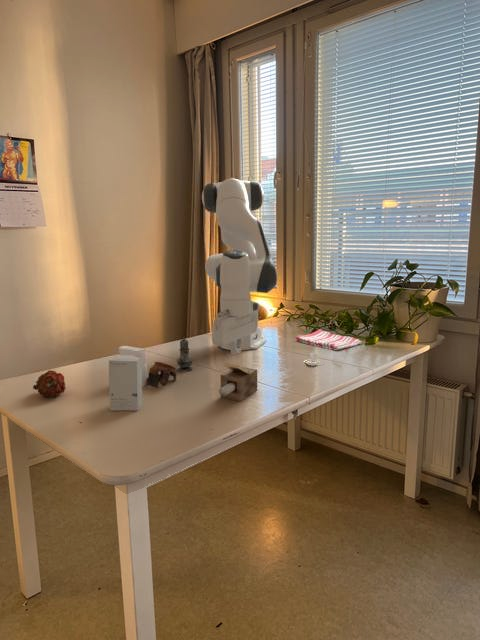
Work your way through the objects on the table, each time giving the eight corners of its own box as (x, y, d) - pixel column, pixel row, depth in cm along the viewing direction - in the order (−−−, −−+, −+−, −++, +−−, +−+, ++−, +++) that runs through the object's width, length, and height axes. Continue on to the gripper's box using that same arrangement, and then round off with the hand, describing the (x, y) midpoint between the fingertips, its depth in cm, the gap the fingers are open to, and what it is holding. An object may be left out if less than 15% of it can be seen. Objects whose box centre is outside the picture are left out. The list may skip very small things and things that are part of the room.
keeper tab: (233, 371, 144) (233, 368, 145) (248, 374, 142) (249, 371, 142) (222, 365, 139) (223, 362, 139) (238, 368, 136) (239, 365, 136)
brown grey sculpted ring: (140, 383, 156) (148, 360, 158) (166, 392, 160) (173, 368, 162) (152, 385, 145) (160, 360, 147) (179, 394, 149) (187, 369, 151)
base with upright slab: (153, 381, 156) (151, 346, 154) (134, 390, 149) (132, 353, 146) (132, 377, 161) (130, 343, 158) (113, 385, 153) (111, 349, 151)
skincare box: (109, 411, 132) (106, 360, 129) (115, 403, 138) (112, 354, 135) (139, 411, 132) (136, 360, 129) (143, 403, 138) (141, 354, 135)
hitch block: (238, 387, 151) (237, 366, 149) (257, 391, 147) (257, 369, 146) (220, 397, 142) (220, 375, 141) (240, 401, 139) (240, 378, 137)
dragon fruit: (56, 407, 139) (45, 401, 149) (77, 385, 143) (64, 381, 153) (35, 388, 136) (25, 383, 145) (57, 366, 139) (46, 363, 149)
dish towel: (319, 335, 218) (319, 328, 218) (362, 345, 201) (362, 337, 201) (294, 342, 207) (294, 334, 207) (338, 352, 190) (338, 344, 190)
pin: (245, 381, 150) (245, 369, 149) (256, 383, 148) (256, 371, 147) (217, 397, 137) (216, 384, 136) (228, 399, 135) (228, 386, 134)
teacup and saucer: (313, 368, 170) (313, 358, 169) (297, 363, 176) (297, 353, 175) (329, 364, 175) (329, 353, 174) (313, 359, 181) (313, 349, 180)
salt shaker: (190, 372, 165) (189, 339, 163) (174, 371, 167) (173, 338, 164) (195, 367, 171) (194, 335, 169) (179, 366, 172) (178, 334, 170)
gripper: (225, 315, 126) (225, 364, 129) (261, 303, 143) (261, 346, 146) (206, 312, 129) (207, 360, 132) (243, 301, 147) (244, 344, 149)
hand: (236, 353), depth 139 cm, fingers closed
